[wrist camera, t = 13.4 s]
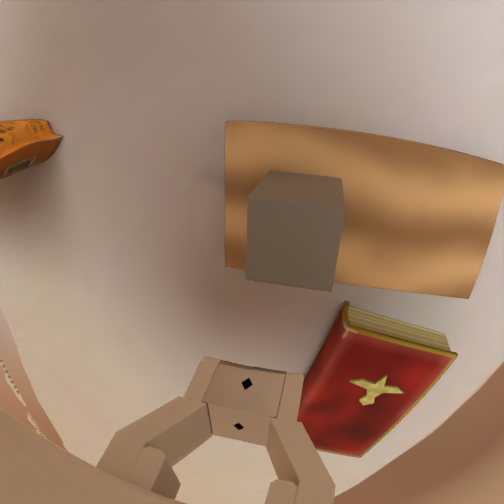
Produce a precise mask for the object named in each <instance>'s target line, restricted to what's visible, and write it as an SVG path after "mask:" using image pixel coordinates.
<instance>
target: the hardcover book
mask: <svg viewBox="0 0 504 504" xmlns="http://www.w3.org/2000/svg"><path fill="white" fill-rule="evenodd" d="M457 356H458V354H457V353H455V352H451V351H450V348H449V345H448V342H447V339H446V336H445V334H444V333H440V332H437V331H433V330H430V329H426V328H423V327H419V326H416V325H412V324H409V323H406V322H402V321H399V320H395V319H392V318H388V317H385V316H382V315H378V314H375V313H371V312H368V311H365V310H361V309H358V308H355V307H351V306H349V302H347V301H345V303H344V305H343V307H342V309H341V311H340V313H339V316H338V318H337V320H336V322H335V324H334V326H333V328H332V329H331V331H330V333H329V335H328V337H327V339H326V341H325V343H324V345H323V347H322V349H321V351H320V353H319V354H318V356H317V358H316V360H315V362H314V364H313V365H312V367H311V369H310V371H309V373H308V375H307V376H306V378H305V380H304V382H303V387H302V393H301V399H300V405H299V410H298V416H297V421H298V422H302V424H303V426H304V428H305V430H306V432H307V433H308V435H309V437H310V439H311V441H312V443H313V445H314V447H315V449H316V450H318V451H323V452H329V453H334V454H340V455H346V456H352V457H358V458H361V457H362V456H363V455H364V454H365V453H366V452H368V451H369V450H370V449H371V448H372V447H373V446H374V445H375V444H377V443H378V442H379V441H380V440H381V439H382V438H383V437H384V436H385V435H386V434H387V433H388V432H390V431H391V430H392V429H393V428H394V427H395V426H396V425H397V424H398V423H399V422H400V421H401V420H402V419H403V418H404V417H405V416H406V415H407V414H408V413H409V412H410V411H411V410H412V409H413V408H414V406H415V405H416V404H417V403H418V402H419V401H420V400H421V399H422V398H423V397H424V396H425V395H426V393H427V392H428V391H429V390H430V389H431V388H432V387H433V386H434V384H435V383H436V382H437V381H438V380H439V379H440V377H441V376H442V375H443V374H444V373H445V371H446V370H447V369H448V368H449V366H450V365H451V364H452V363H453V361H454V360H455V359H456V358H457Z"/></svg>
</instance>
